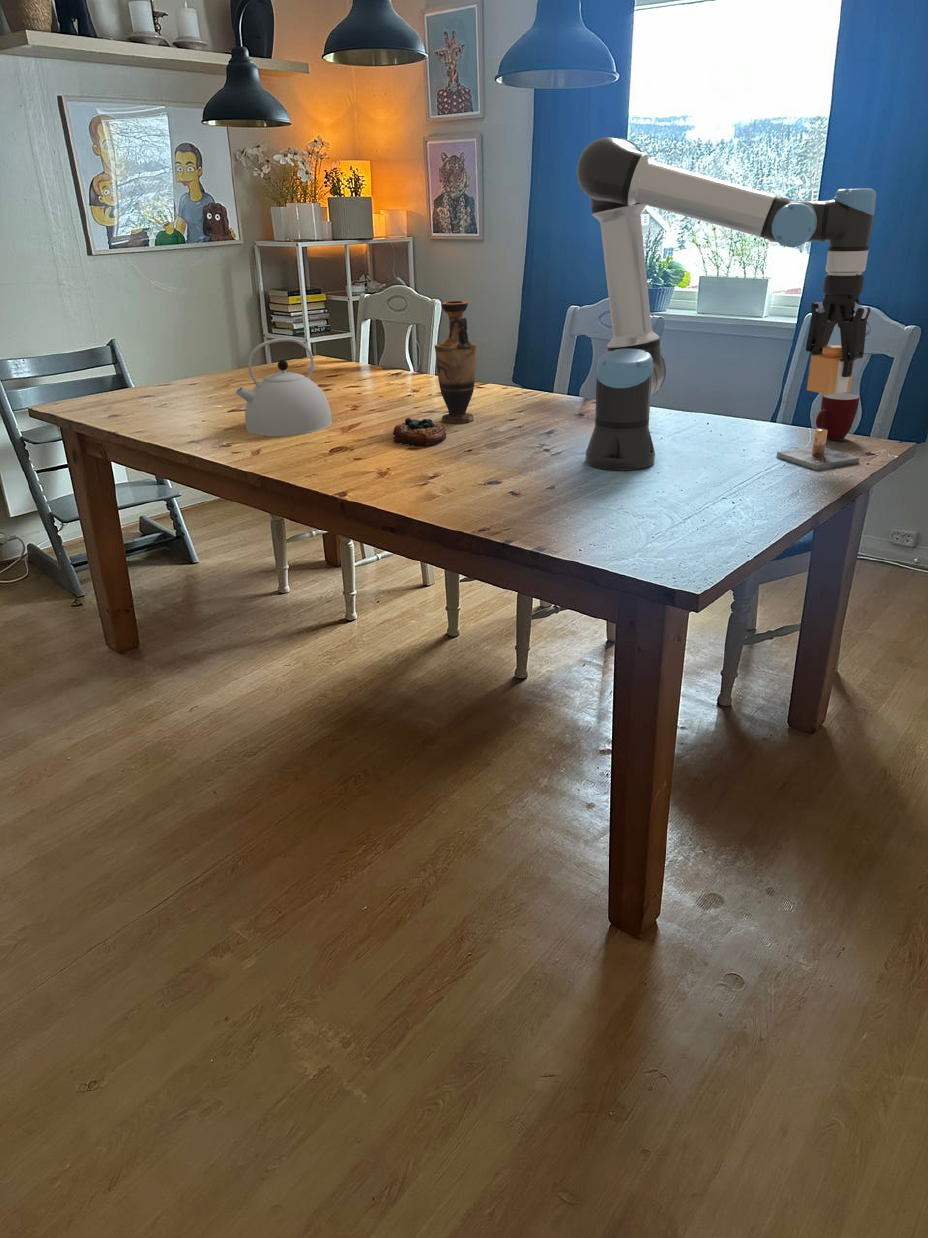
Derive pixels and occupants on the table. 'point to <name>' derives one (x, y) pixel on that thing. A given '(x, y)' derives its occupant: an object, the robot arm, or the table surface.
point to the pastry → (419, 432)
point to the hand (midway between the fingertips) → (828, 389)
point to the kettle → (285, 401)
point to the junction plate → (824, 460)
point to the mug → (837, 414)
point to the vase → (456, 365)
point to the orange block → (825, 370)
